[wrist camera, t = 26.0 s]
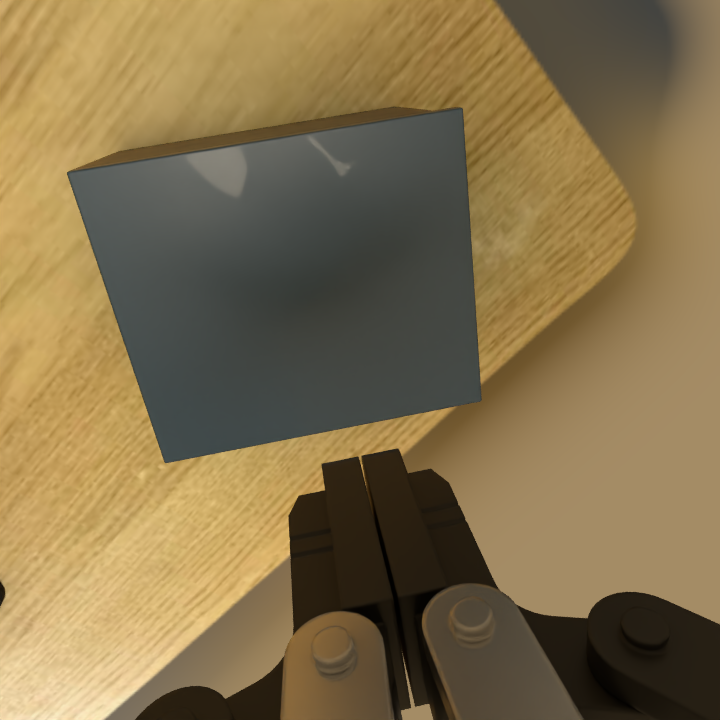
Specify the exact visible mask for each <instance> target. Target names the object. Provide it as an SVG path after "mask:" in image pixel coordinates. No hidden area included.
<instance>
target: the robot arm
mask: <svg viewBox="0 0 720 720" xmlns="http://www.w3.org/2000/svg"><path fill="white" fill-rule="evenodd" d="M362 464H363V470H364V476H365V481H364V477H363V473H362V469H361V465H360V460H359V457H354V458H349V459H344V460H339V461H334V462H329V463H324V464H322V471H323V478H324V485H325V491H320V492H315V493H310V494H305V495H300V496H298V498H297V500H296V502H295V504H294V506H293V508H292V510H291V512H290V514H289V536H290V555H291V579H292V601H293V622H294V629H293V636H292V638H291V639H290V641H289V643H288V645H287V648H286V651H285V655H284V657H283V658H282V660H281V661H280V662H279V664H278V665H277V666H276V667H275V668H274V669H273V670H272V671H271V672H270V673H268V674H267V675H266V676H265V677H263V678H262V679H260V680H259V681H257V682H256V683H254V684H252V685H250V686H248V687H247V688H245V689H243V690H241V691H239V692H238V693H236V694H234V695H232V696H230V697H228V698H227V699H225V698H224V697H223V696H222V695H221V694H220V693H218V692H217V691H215V690H213V689H210V688H208V687H202V686H190V687H184V688H180V689H177V690H174V691H172V692H170V693H167V694H165V695H163V696H162V697H160V698H159V699H157V700H155V701H154V702H153V703H152V704H150V705H149V706H148V707H147V708H146V709H145V710H144V711H143V712H142V713H141V714H140V715H139V716H138V717H137V718H136V719H135V720H402V715H401V710H405V709H409V708H411V704H410V698H409V692H408V686H407V680H406V674H405V668H404V662H403V657H404V661H405V665H406V670H407V673H408V678H409V682H410V687H411V691H412V695H413V699H414V703H415V706H421V705H424V704H430V708H431V712H432V716H433V720H720V625H719V624H718V623H715V622H713V621H711V620H709V619H706V618H704V617H702V616H700V615H698V614H695V613H693V612H691V611H689V610H686V609H684V608H682V607H680V606H677V605H675V604H673V603H671V602H669V601H666V600H664V599H661V598H659V597H656V596H653V595H649V594H645V593H638V592H622V593H616V594H612V595H609V596H607V597H605V598H603V599H601V600H600V601H599V602H597V603H596V604H595V605H594V607H593V608H592V609H591V611H590V613H589V616H588V618H573V617H558V616H548V615H541V614H538V613H534V612H531V611H529V610H526V609H524V608H522V607H520V606H518V605H516V604H515V603H514V601H512V600H511V598H509V596H507V595H506V594H504V593H503V592H501V591H500V590H499V589H498V587H497V586H496V584H495V582H494V580H493V578H492V576H491V573H490V572H489V569H488V567H487V565H486V563H485V560H484V558H483V556H482V554H481V552H480V550H479V547H478V545H477V543H476V541H475V539H474V536H473V534H472V532H471V530H470V528H469V525H468V523H467V522H466V520H465V517H464V514H463V512H462V510H461V508H460V506H459V505H458V502H457V499H456V497H455V495H454V493H453V491H452V488H451V486H450V484H449V483H448V482H447V481H446V480H445V479H443V478H442V477H441V476H439V475H438V474H437V473H436V472H434V471H433V470H432V469H428V470H422V471H417V472H413V473H407V470H406V467H405V465H404V462H403V459H402V456H401V454H400V451H399V449H393V450H388V451H383V452H378V453H373V454H368V455H363V456H362ZM365 482H366V485H365ZM366 488H367V489H366ZM402 653H403V655H402Z"/></svg>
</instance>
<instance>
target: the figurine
mask: <svg viewBox="0 0 720 720" xmlns="http://www.w3.org/2000/svg"><path fill="white" fill-rule="evenodd" d="M4 595H5V592H4V588H3V586H2V585H1V583H0V606H1V604H2V602H3V599H4Z"/></svg>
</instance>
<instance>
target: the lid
mask: <svg viewBox="0 0 720 720" xmlns="http://www.w3.org/2000/svg"><path fill="white" fill-rule="evenodd" d="M67 175H68V178H69V181H70V184H71V187H72V190H73V193H74V196H75V199H76V202H77V205H78V207H79V210H80V213H81V216H82V219H83V222H84V225H85V228H86V231H87V234H88V237H89V240H90V243H91V246H92V249H93V252H94V255H95V258H96V261H97V264H98V267H99V270H100V273H101V275H102V278H103V281H104V284H105V287H106V290H107V293H108V296H109V299H110V302H111V305H112V308H113V311H114V314H115V317H116V320H117V323H118V326H119V329H120V332H121V335H122V338H123V341H124V343H125V346H126V349H127V352H128V355H129V358H130V361H131V364H132V367H133V370H134V373H135V376H136V379H137V382H138V385H139V388H140V391H141V394H142V397H143V400H144V403H145V406H146V409H147V411H148V414H149V417H150V420H151V423H152V426H153V429H154V432H155V435H156V438H157V441H158V444H159V447H160V450H161V453H162V456H163V459H164V462H165V463H169V462H175V461H180V460H185V459H190V458H195V457H200V456H205V455H210V454H215V453H220V452H225V451H230V450H236V449H241V448H246V447H251V446H256V445H261V444H266V443H271V442H276V441H281V440H286V439H291V438H297V437H302V436H307V435H312V434H317V433H322V432H327V431H332V430H337V429H342V428H347V427H353V426H358V425H363V424H368V423H373V422H378V421H383V420H388V419H393V418H398V417H403V416H408V415H414V414H419V413H424V412H429V411H434V410H439V409H444V408H449V407H454V406H459V405H464V404H469V403H474V402H480V401H481V384H480V368H479V353H478V337H477V322H476V306H475V290H474V275H473V259H472V244H471V228H470V213H469V197H468V181H467V166H466V150H465V135H464V119H463V109H462V108H460V107H453V108H447V109H441V110H435V111H428V112H422V113H416V114H410V115H404V116H398V117H391V118H385V119H379V120H373V121H367V122H361V123H355V124H348V125H342V126H336V127H330V128H324V129H318V130H312V131H305V132H299V133H293V134H287V135H281V136H275V137H269V138H262V139H256V140H250V141H244V142H238V143H232V144H226V145H219V146H213V147H207V148H201V149H195V150H189V151H182V152H176V153H170V154H164V155H158V156H152V157H146V158H139V159H133V160H127V161H121V162H115V163H109V164H103V165H96V166H90V167H84V168H78V169H73V170H71V171H69V172H67Z"/></svg>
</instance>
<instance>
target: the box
mask: <svg viewBox="0 0 720 720" xmlns="http://www.w3.org/2000/svg"><path fill="white" fill-rule="evenodd" d="M428 111H430V110H421V109H411V108H402V107H390V108H383V109H377V110H371V111H365V112H359V113H352V114H346V115H340V116H334V117H328V118H322V119H315V120H309V121H303V122H297V123H291V124H285V125H278V126H272V127H266V128H260V129H254V130H247V131H241V132H235V133H229V134H223V135H217V136H210V137H204V138H198V139H192V140H186V141H180V142H173V143H167V144H161V145H155V146H149V147H142V148H136V149H130V150H124V151H119V152H116V153H114V154H111V155H109V156H106V157H104V158H101V159H99V160H96V161H94V162H91V163H89V164H86V165H84V166H81V167H79V168H84V167H90V166H96V165H103V164H109V163H115V162H121V161H127V160H133V159H139V158H146V157H152V156H158V155H164V154H170V153H176V152H182V151H189V150H195V149H201V148H207V147H213V146H219V145H226V144H232V143H238V142H244V141H250V140H256V139H262V138H269V137H275V136H281V135H287V134H293V133H299V132H305V131H312V130H318V129H324V128H330V127H336V126H342V125H348V124H355V123H361V122H367V121H373V120H379V119H385V118H391V117H398V116H404V115H410V114H416V113H422V112H428ZM76 169H78V168H76Z"/></svg>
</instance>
